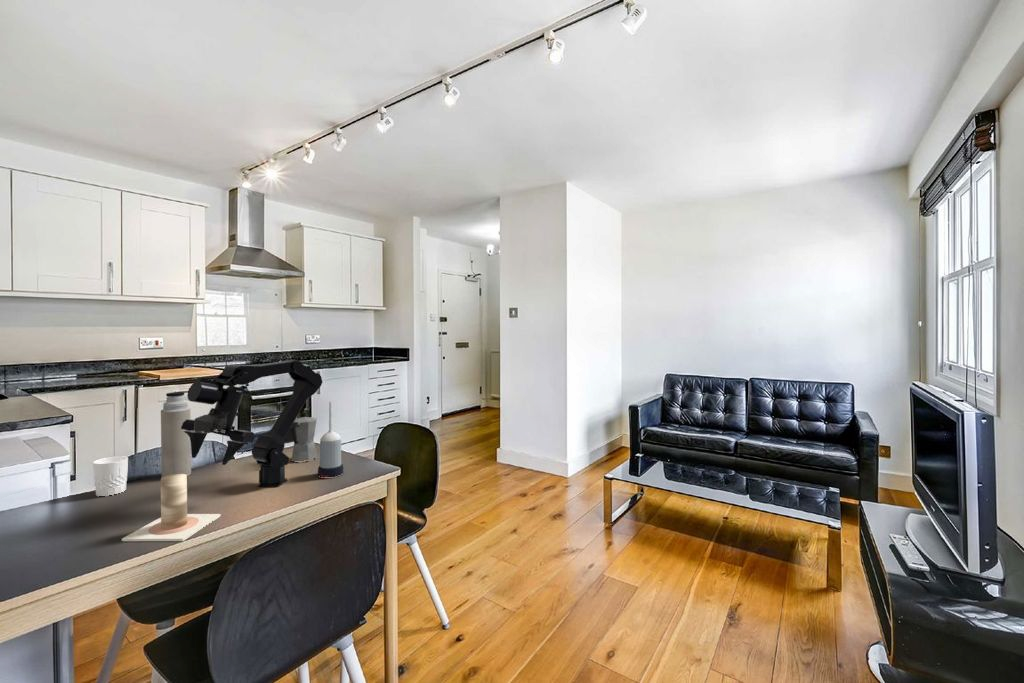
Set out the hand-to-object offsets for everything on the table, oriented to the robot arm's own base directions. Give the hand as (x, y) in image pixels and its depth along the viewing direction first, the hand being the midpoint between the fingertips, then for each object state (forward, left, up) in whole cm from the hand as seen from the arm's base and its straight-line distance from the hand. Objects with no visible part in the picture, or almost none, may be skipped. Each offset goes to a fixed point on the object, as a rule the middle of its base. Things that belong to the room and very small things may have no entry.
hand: (208, 461), depth 128 cm
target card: (-2, +16, -12) cm, 20 cm away
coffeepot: (-8, -42, -12) cm, 44 cm away
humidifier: (-25, -25, -12) cm, 37 cm away
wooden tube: (-2, +16, -11) cm, 20 cm away
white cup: (+34, -8, -12) cm, 37 cm away
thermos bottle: (+26, -24, -12) cm, 38 cm away
